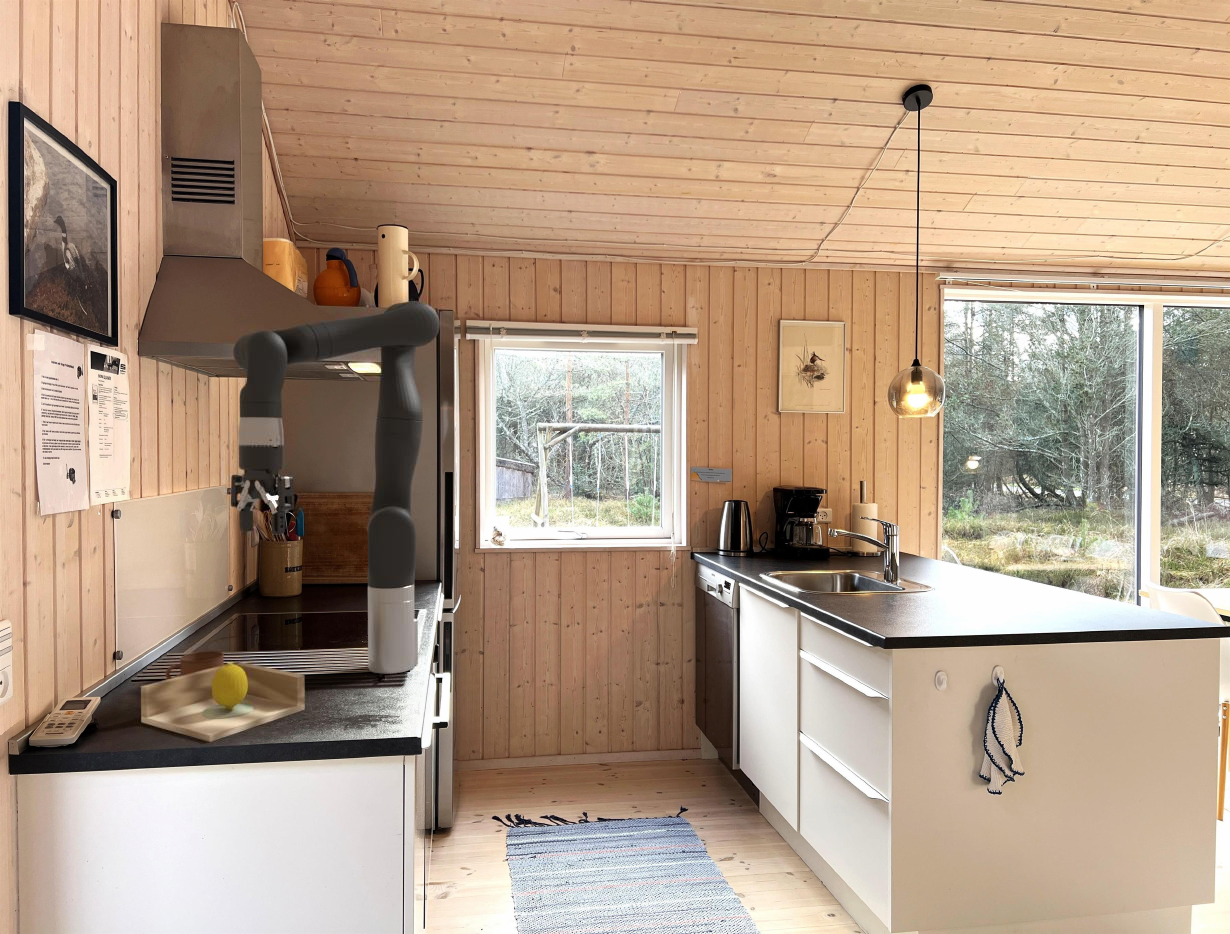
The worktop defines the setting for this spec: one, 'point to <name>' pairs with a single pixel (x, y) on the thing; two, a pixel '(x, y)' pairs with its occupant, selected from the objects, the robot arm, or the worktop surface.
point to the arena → (200, 716)
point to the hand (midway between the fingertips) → (262, 532)
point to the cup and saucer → (197, 662)
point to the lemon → (229, 686)
